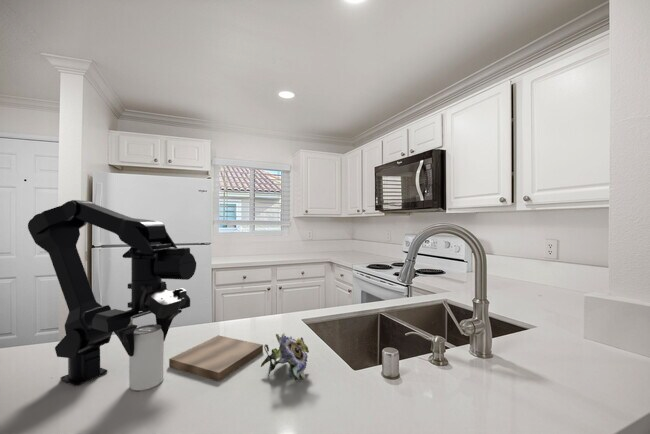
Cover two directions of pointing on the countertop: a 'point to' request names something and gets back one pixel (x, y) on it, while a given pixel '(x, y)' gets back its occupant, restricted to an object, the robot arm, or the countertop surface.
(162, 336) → the can
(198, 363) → the cutting board
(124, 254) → the robot arm
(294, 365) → the passion flower
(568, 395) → the countertop surface
